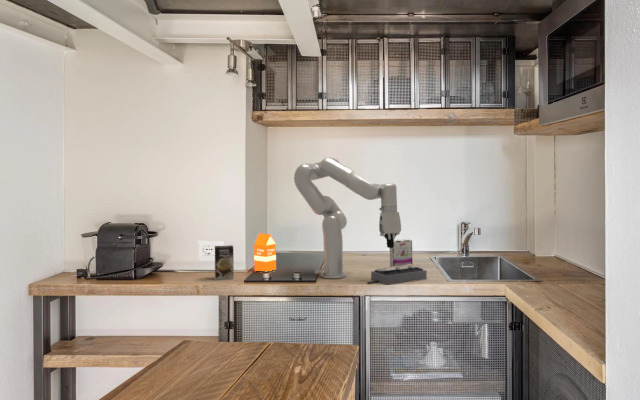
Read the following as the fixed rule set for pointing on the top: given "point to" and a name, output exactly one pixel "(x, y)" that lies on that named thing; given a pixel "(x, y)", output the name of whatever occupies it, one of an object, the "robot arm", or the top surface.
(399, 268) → the rocker middle
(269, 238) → the orange juice
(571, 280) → the top surface
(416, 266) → the rocker right
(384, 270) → the rocker left
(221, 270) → the coffee box
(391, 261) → the candy bar box
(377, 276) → the power strip
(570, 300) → the top surface
